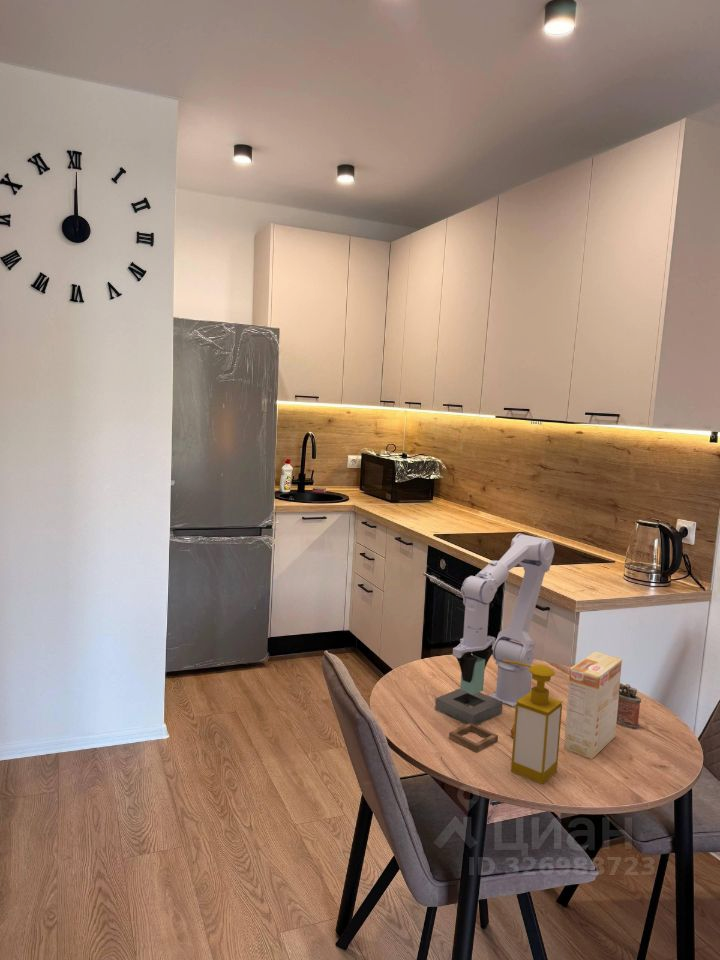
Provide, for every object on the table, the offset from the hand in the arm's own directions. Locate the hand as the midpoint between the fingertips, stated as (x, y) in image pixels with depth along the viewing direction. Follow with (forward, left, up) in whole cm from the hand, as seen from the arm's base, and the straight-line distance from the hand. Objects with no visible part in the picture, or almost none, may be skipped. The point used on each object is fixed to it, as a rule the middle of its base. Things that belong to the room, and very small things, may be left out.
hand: (472, 678), depth 168 cm
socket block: (-3, -3, -10) cm, 11 cm away
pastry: (-5, +14, -11) cm, 18 cm away
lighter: (-29, +25, -11) cm, 40 cm away
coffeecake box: (-13, +25, -11) cm, 30 cm away
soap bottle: (+9, +21, -11) cm, 25 cm away
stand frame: (+8, +7, -10) cm, 15 cm away
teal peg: (0, 0, -3) cm, 3 cm away
